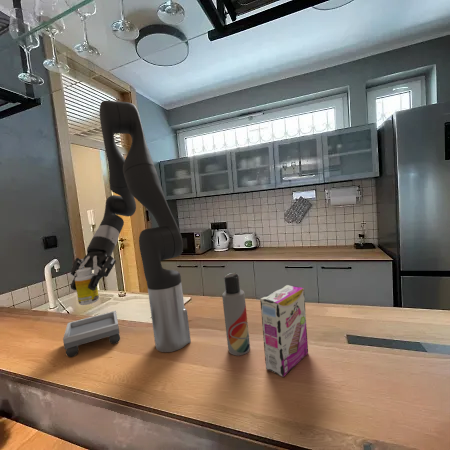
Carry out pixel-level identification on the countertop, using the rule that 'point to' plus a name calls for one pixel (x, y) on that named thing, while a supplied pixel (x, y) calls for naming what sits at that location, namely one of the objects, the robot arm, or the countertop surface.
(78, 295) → the supplement bottle
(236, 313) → the lotion bottle
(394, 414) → the countertop surface
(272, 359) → the candy bar box
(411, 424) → the countertop surface
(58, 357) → the countertop surface
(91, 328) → the square grey tray
